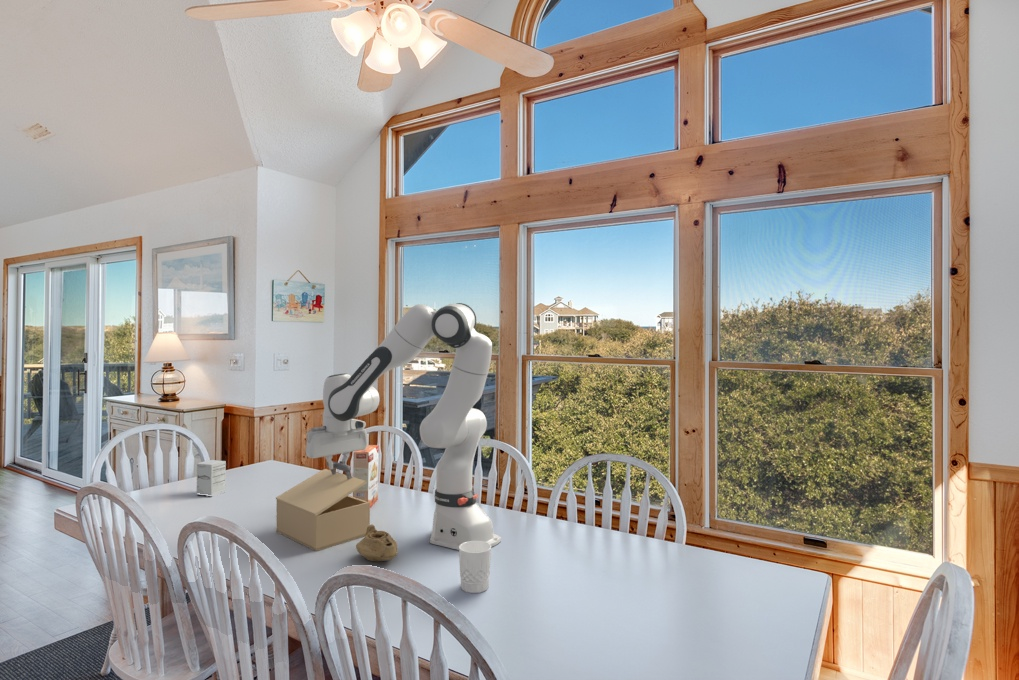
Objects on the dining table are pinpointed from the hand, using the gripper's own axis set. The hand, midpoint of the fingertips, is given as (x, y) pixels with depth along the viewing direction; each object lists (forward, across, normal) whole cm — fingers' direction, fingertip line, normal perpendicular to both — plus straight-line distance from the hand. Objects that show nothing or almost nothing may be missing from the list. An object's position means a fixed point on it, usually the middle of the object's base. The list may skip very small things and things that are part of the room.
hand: (337, 467), depth 177 cm
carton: (+20, -5, 0) cm, 20 cm away
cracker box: (+20, +21, +15) cm, 32 cm away
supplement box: (+20, -11, +72) cm, 76 cm away
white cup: (+20, 0, -62) cm, 65 cm away
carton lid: (+6, -6, 0) cm, 9 cm away
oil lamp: (+20, -5, -30) cm, 36 cm away
